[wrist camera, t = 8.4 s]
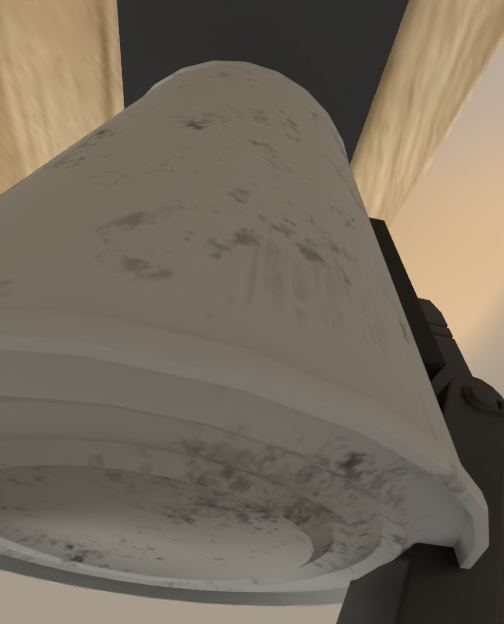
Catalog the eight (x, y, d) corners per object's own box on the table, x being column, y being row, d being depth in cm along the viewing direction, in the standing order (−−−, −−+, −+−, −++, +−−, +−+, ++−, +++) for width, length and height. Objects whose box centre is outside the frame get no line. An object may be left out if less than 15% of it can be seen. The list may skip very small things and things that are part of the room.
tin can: (340, 288, 17) (402, 620, 8) (154, 292, 18) (20, 589, 9) (365, 44, 11) (819, 314, 2) (76, 74, 12) (-637, 333, 3)
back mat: (110, -155, 16) (105, -159, 16) (431, -72, 17) (435, -74, 17) (134, 222, 30) (132, 226, 29) (314, 257, 31) (315, 260, 30)
